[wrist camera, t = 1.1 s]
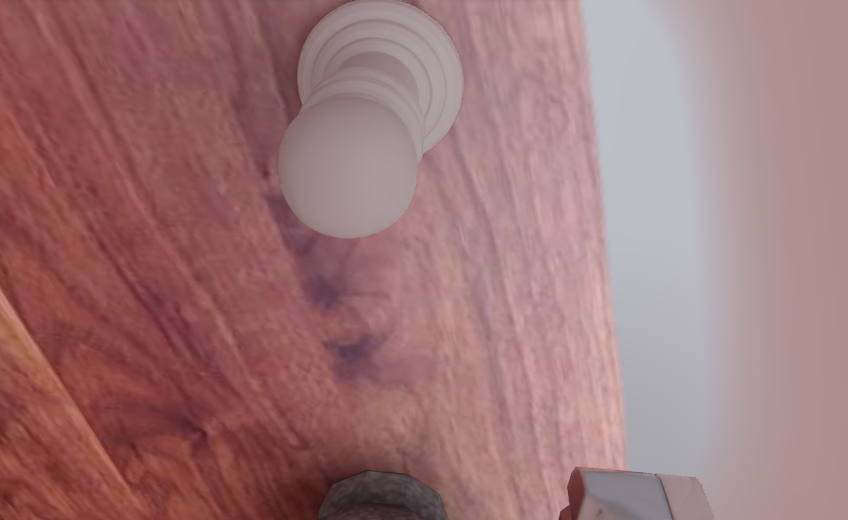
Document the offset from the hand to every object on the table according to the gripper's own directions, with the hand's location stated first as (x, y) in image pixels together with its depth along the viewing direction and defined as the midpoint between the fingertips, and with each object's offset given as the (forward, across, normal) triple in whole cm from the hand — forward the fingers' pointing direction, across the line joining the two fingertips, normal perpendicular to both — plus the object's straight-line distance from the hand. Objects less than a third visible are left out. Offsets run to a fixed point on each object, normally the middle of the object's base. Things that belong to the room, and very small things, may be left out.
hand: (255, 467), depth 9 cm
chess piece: (+16, 0, 0) cm, 16 cm away
